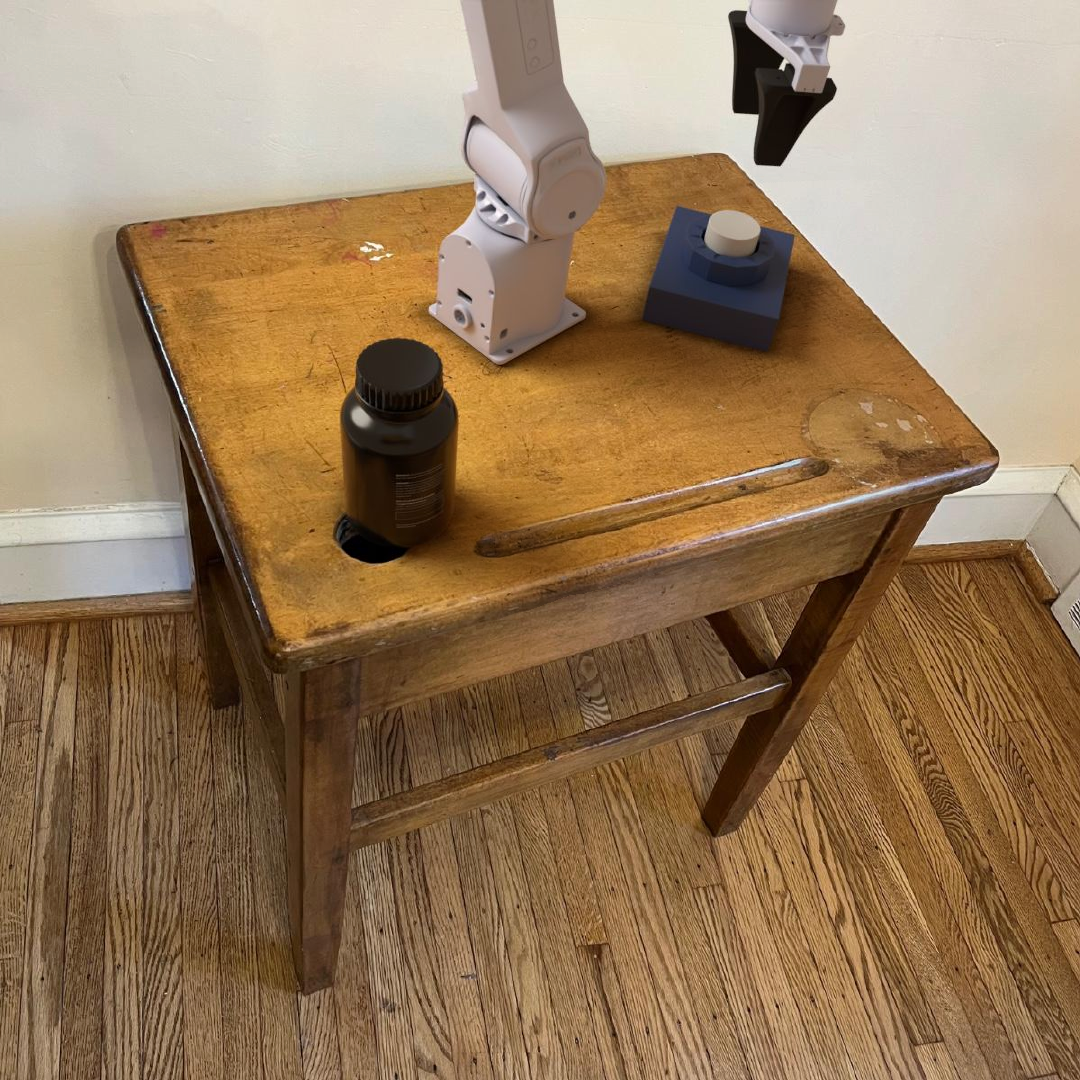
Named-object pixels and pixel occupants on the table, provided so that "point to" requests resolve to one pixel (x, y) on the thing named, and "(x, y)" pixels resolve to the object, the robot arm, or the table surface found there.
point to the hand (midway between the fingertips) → (755, 137)
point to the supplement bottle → (399, 445)
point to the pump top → (732, 233)
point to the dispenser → (718, 284)
